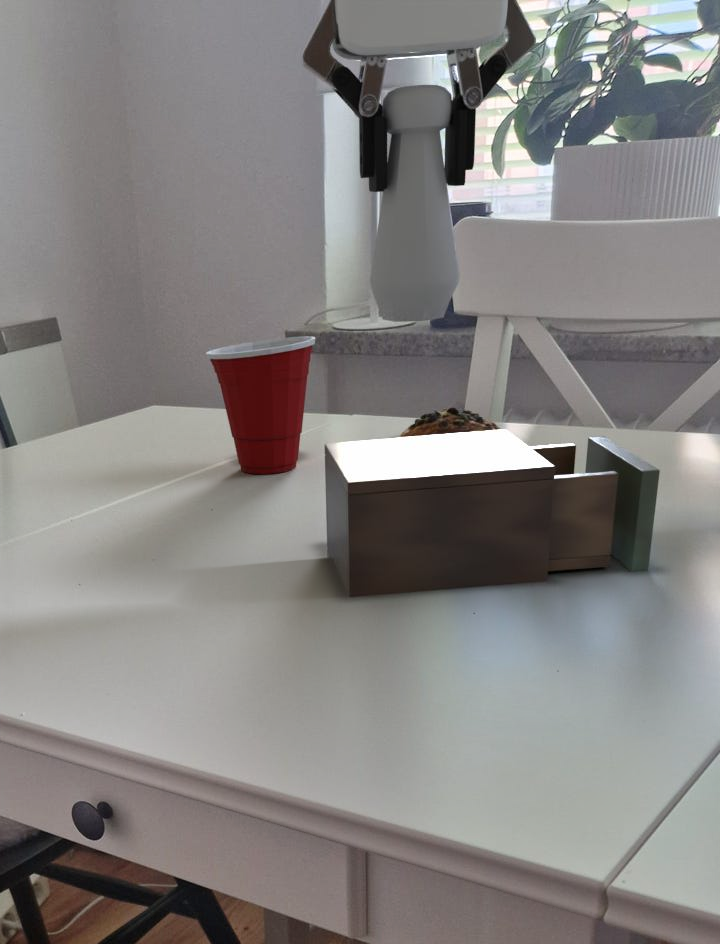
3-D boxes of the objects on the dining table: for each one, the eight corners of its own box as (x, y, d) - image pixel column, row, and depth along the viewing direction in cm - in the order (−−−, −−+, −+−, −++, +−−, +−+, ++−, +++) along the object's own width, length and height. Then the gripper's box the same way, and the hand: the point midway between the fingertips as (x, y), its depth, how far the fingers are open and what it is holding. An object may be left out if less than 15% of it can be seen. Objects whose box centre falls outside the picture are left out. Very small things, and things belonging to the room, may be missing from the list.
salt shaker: (476, 315, 77) (486, 80, 70) (410, 325, 74) (414, 82, 68) (417, 310, 81) (421, 88, 75) (353, 320, 79) (351, 91, 72)
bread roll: (469, 464, 113) (466, 410, 111) (376, 470, 120) (371, 418, 118) (526, 446, 120) (524, 395, 118) (435, 452, 127) (431, 404, 125)
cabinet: (500, 544, 91) (506, 429, 86) (546, 594, 80) (555, 466, 75) (327, 558, 90) (324, 443, 86) (349, 610, 80) (347, 482, 75)
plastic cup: (253, 452, 125) (246, 331, 119) (339, 460, 119) (337, 333, 113) (192, 475, 118) (182, 347, 112) (281, 484, 112) (275, 350, 106)
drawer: (610, 526, 90) (619, 434, 86) (665, 569, 80) (678, 468, 76) (434, 540, 90) (436, 448, 86) (468, 585, 80) (472, 484, 76)
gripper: (551, -183, 68) (531, 178, 77) (264, -162, 68) (279, 197, 77) (591, -221, 61) (564, 178, 71) (274, -198, 61) (289, 199, 70)
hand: (416, 184), depth 74 cm, fingers closed on salt shaker, 4 cm apart
